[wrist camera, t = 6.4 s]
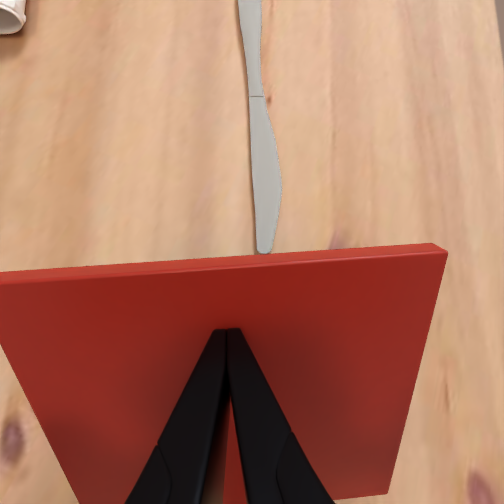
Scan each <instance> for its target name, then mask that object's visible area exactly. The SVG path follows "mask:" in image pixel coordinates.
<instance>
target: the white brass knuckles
mask: <svg viewBox="0 0 504 504" xmlns="http://www.w3.org/2000/svg"><path fill="white" fill-rule="evenodd" d="M25 4H26V0H0V34H11V33H15V32H17V31H19V30H20V29H21V28H22V26H23V24H24V23H25V22H26V16H25V15H24V12H25Z"/></svg>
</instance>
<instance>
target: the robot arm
mask: <svg viewBox="0 0 504 504" xmlns="http://www.w3.org/2000/svg"><path fill="white" fill-rule="evenodd" d="M230 396H231V399H230ZM230 401H231V404H232V411H233V417H234V424H235V431H236V437H237V444H238V450H239V457H240V463H241V470H242V477H243V483H244V490H245V496H246V503H247V504H335V503H334V501H333V500H332V498H331V497H330V495H329V494H328V492H327V490H326V489H325V487H324V486H323V484H322V482H321V481H320V479H319V477H318V476H317V474H316V473H315V471H314V469H313V468H312V466H311V464H310V462H309V460H308V458H307V457H306V455H305V453H304V451H303V449H302V447H301V446H300V444H299V442H298V440H297V438H296V436H295V434H294V432H293V431H292V428H291V426H290V424H289V422H288V421H287V419H286V417H285V415H284V413H283V411H282V409H281V407H280V405H279V403H278V401H277V399H276V397H275V395H274V393H273V391H272V389H271V387H270V385H269V383H268V381H267V379H266V377H265V375H264V373H263V372H262V370H261V368H260V366H259V364H258V362H257V360H256V358H255V356H254V354H253V352H252V350H251V348H250V346H249V344H248V342H247V340H246V338H245V336H244V334H243V332H242V330H241V329H240V328H239V327H237V328H228V329H227V330H226V329H214V330H213V331H212V333H211V335H210V337H209V339H208V341H207V343H206V345H205V347H204V349H203V351H202V353H201V355H200V357H199V359H198V361H197V363H196V365H195V367H194V369H193V371H192V373H191V375H190V377H189V379H188V381H187V383H186V385H185V387H184V389H183V391H182V393H181V395H180V397H179V399H178V401H177V403H176V405H175V407H174V409H173V411H172V413H171V415H170V417H169V419H168V421H167V423H166V425H165V427H164V429H163V431H162V433H161V435H160V437H159V439H158V441H157V444H158V445H155V447H154V449H153V451H152V453H151V455H150V457H149V459H148V461H147V463H146V465H145V466H144V468H143V470H142V472H141V474H140V476H139V478H138V480H137V481H136V483H135V485H134V487H133V489H132V491H131V492H130V494H129V496H128V497H127V499H126V501H125V502H124V504H223V492H224V480H225V467H226V454H227V442H228V429H229V416H230ZM291 431H292V432H291Z"/></svg>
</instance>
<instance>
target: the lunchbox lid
mask: <svg viewBox="0 0 504 504" xmlns="http://www.w3.org/2000/svg"><path fill="white" fill-rule="evenodd" d="M447 256H448V252H447V251H446V250H444V249H442V248H441V247H439V246H437V245H435V244H433V243H423V244H408V245H394V246H379V247H364V248H349V249H334V250H320V251H305V252H290V253H275V254H260V255H246V256H231V257H216V258H201V259H186V260H172V261H157V262H142V263H127V264H112V265H98V266H83V267H68V268H53V269H38V270H24V271H9V272H0V345H1V347H2V349H3V351H4V353H5V355H6V357H7V359H8V361H9V363H10V365H11V367H12V369H13V371H14V373H15V375H16V377H17V379H18V381H19V383H20V385H21V387H22V389H23V391H24V393H25V395H26V397H27V399H28V401H29V403H30V405H31V407H32V409H33V411H34V413H35V415H36V417H37V419H38V421H39V423H40V425H41V427H42V429H43V431H44V433H45V435H46V437H47V439H48V441H49V443H50V445H51V447H52V449H53V451H54V453H55V455H56V457H57V459H58V461H59V463H60V465H61V467H62V469H63V471H64V473H65V475H66V477H67V480H68V482H69V484H70V486H71V488H72V490H73V492H74V494H75V496H76V498H77V500H78V502H79V504H124V502H125V501H126V499H127V497H128V496H129V494H130V492H131V491H132V489H133V487H134V485H135V483H136V481H137V480H138V478H139V476H140V474H141V472H142V470H143V468H144V466H145V465H146V463H147V461H148V459H149V457H150V455H151V453H152V451H153V449H154V447H155V445H158V444H157V441H158V439H159V437H160V435H161V433H162V431H163V429H164V427H165V425H166V423H167V421H168V419H169V417H170V415H171V413H172V411H173V409H174V407H175V405H176V403H177V401H178V399H179V397H180V395H181V393H182V391H183V389H184V387H185V385H186V383H187V381H188V379H189V377H190V375H191V373H192V371H193V369H194V367H195V365H196V363H197V361H198V359H199V357H200V355H201V353H202V351H203V349H204V347H205V345H206V343H207V341H208V339H209V337H210V335H211V333H212V331H213V330H214V329H226V330H227V329H228V328H237V327H239V328H240V329H241V330H242V332H243V334H244V336H245V338H246V340H247V342H248V344H249V346H250V348H251V350H252V352H253V354H254V356H255V358H256V360H257V362H258V364H259V366H260V368H261V370H262V372H263V373H264V375H265V377H266V379H267V381H268V383H269V385H270V387H271V389H272V391H273V393H274V395H275V397H276V399H277V401H278V403H279V405H280V407H281V409H282V411H283V413H284V415H285V417H286V419H287V421H288V422H289V424H290V426H291V428H292V431H293V432H294V434H295V436H296V438H297V440H298V442H299V444H300V446H301V447H302V449H303V451H304V453H305V455H306V457H307V458H308V460H309V462H310V464H311V466H312V468H313V469H314V471H315V473H316V474H317V476H318V477H319V479H320V481H321V482H322V484H323V486H324V487H325V489H326V490H327V492H328V494H329V495H330V497H331V498H332V500H340V499H348V498H357V497H366V496H375V495H383V494H387V493H388V490H389V486H390V482H391V478H392V474H393V470H394V466H395V462H396V458H397V454H398V450H399V446H400V443H401V439H402V435H403V431H404V427H405V423H406V419H407V415H408V411H409V407H410V403H411V399H412V395H413V391H414V387H415V383H416V379H417V375H418V371H419V367H420V363H421V359H422V355H423V351H424V347H425V343H426V339H427V335H428V332H429V328H430V324H431V320H432V316H433V312H434V308H435V304H436V300H437V296H438V292H439V288H440V284H441V280H442V276H443V272H444V268H445V264H446V260H447ZM230 399H231V396H230ZM292 431H291V432H292ZM223 504H247V503H246V496H245V490H244V483H243V477H242V470H241V463H240V457H239V450H238V444H237V437H236V431H235V424H234V417H233V411H232V404H231V401H230V416H229V429H228V442H227V454H226V467H225V480H224V492H223Z"/></svg>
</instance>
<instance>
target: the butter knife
mask: <svg viewBox="0 0 504 504" xmlns="http://www.w3.org/2000/svg"><path fill="white" fill-rule="evenodd" d="M238 6H239V17H240V26H241V31H242V37H243V43H244V50H245V58H246V67H247V76H248V90H249V107H250V136H251V159H252V179H253V191H254V203H255V214H256V240H257V251H259V252H260V253H262V254H266V253H268V252H270V251H271V250H272V245H273V241H274V236H275V231H276V226H277V221H278V215H279V209H280V202H281V195H282V183H281V173H280V166H279V160H278V153H277V147H276V140H275V136H274V133H273V129H272V126H271V122H270V119H269V115H268V112H267V107H266V101H265V96H264V91H263V86H262V81H261V62H260V44H261V29H262V10H261V0H238Z"/></svg>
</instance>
